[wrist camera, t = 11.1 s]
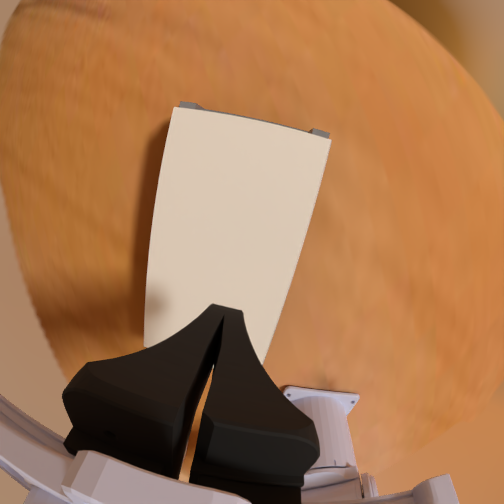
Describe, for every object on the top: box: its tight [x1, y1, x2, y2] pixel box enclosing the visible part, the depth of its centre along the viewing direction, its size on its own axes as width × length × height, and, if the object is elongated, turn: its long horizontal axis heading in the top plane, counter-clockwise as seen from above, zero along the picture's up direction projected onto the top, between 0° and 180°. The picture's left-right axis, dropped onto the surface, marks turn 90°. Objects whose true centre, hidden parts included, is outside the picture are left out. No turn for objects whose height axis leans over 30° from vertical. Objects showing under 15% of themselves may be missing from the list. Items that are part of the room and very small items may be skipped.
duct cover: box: [144, 107, 332, 367], centre depth 17 cm, size 17×9×1 cm, turn 167°
